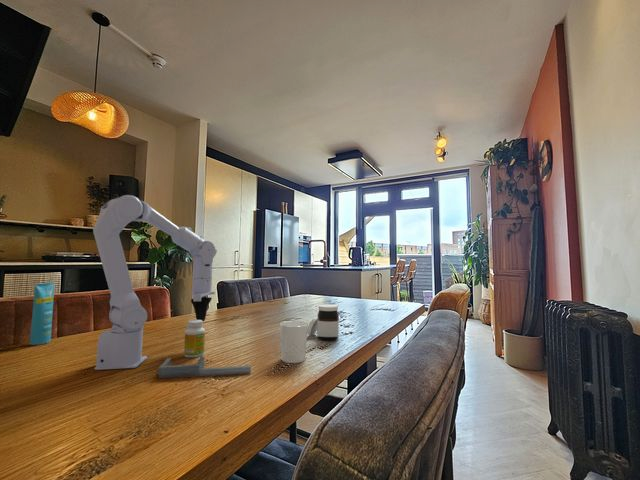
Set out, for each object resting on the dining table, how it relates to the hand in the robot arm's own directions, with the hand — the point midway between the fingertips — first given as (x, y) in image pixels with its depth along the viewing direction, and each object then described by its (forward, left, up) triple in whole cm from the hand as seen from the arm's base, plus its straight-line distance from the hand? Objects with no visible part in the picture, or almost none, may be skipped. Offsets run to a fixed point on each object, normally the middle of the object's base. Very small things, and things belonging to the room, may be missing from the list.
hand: (200, 321), depth 94 cm
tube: (-50, +11, -8) cm, 52 cm away
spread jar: (+41, +5, -8) cm, 42 cm away
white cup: (+28, -16, -8) cm, 33 cm away
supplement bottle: (0, -8, -8) cm, 12 cm away
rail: (+6, -21, -8) cm, 24 cm away
